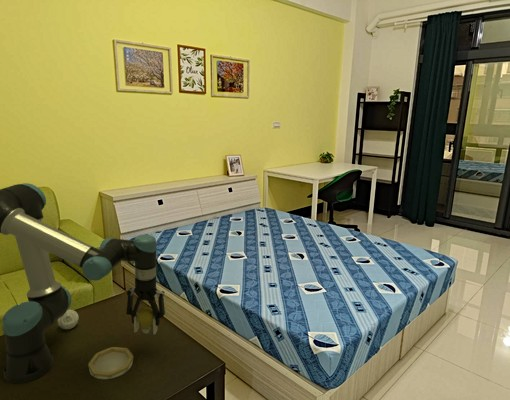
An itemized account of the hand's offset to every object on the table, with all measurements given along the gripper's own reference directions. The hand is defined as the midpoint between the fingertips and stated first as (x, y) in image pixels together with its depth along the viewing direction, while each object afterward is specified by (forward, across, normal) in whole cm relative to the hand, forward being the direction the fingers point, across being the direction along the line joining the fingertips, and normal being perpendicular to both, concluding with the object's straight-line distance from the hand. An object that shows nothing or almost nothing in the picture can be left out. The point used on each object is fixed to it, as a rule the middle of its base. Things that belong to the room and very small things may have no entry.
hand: (145, 331), depth 136 cm
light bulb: (+1, 0, 0) cm, 1 cm away
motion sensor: (+11, -38, +12) cm, 41 cm away
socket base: (+10, -10, -8) cm, 16 cm away
